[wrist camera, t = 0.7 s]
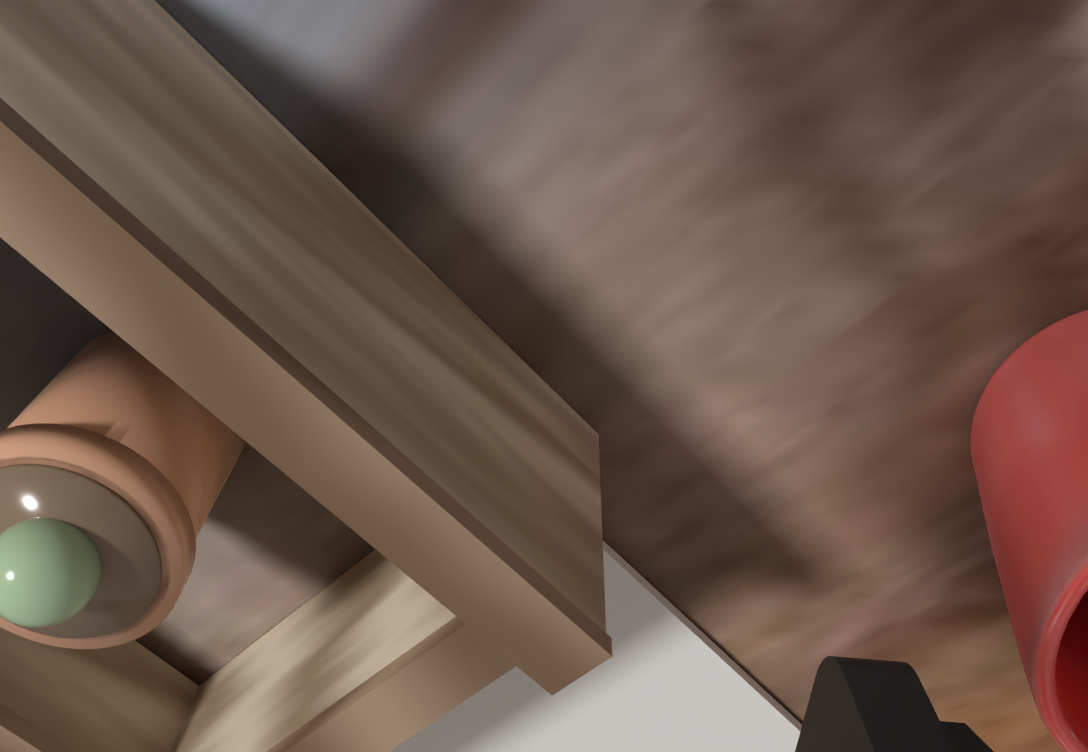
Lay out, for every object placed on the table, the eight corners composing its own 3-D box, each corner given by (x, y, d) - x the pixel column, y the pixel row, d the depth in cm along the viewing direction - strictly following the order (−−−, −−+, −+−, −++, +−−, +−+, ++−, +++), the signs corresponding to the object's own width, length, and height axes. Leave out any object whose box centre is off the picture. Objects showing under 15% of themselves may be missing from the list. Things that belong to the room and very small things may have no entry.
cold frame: (83, -79, 25) (-171, -28, 16) (605, 434, 31) (617, 660, 23) (-291, 386, 31) (-611, 594, 23) (205, 732, 38) (98, 994, 29)
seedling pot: (137, 276, 29) (-25, 444, 21) (301, 417, 31) (208, 618, 23) (13, 402, 31) (-177, 597, 23) (175, 526, 33) (50, 745, 26)
